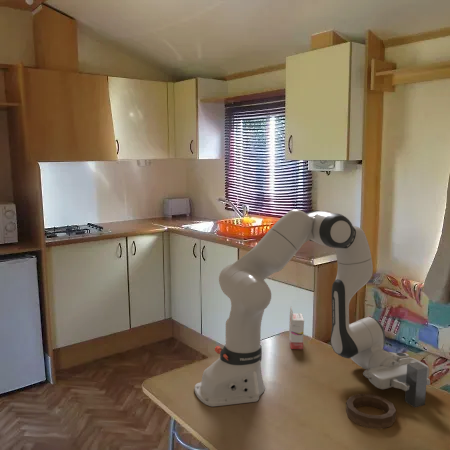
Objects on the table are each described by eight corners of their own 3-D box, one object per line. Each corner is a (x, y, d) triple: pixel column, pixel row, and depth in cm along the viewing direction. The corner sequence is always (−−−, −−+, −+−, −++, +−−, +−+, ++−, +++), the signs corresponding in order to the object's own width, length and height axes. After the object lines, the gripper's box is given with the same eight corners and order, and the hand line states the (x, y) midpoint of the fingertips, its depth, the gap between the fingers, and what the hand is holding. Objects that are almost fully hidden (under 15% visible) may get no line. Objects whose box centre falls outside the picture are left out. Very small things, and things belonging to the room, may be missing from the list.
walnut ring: (367, 433, 128) (368, 422, 128) (337, 408, 140) (337, 399, 140) (404, 421, 134) (405, 412, 133) (372, 399, 145) (373, 390, 145)
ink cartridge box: (303, 349, 181) (304, 313, 179) (290, 349, 182) (291, 312, 179) (301, 340, 190) (302, 305, 188) (288, 340, 190) (289, 305, 188)
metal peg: (414, 407, 141) (417, 369, 139) (404, 401, 145) (407, 364, 143) (424, 404, 143) (427, 367, 141) (414, 398, 146) (417, 361, 144)
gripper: (360, 363, 150) (391, 382, 137) (409, 352, 158) (443, 369, 145) (359, 381, 151) (390, 402, 138) (408, 369, 159) (442, 388, 146)
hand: (418, 385), depth 142 cm, fingers open, 7 cm apart
